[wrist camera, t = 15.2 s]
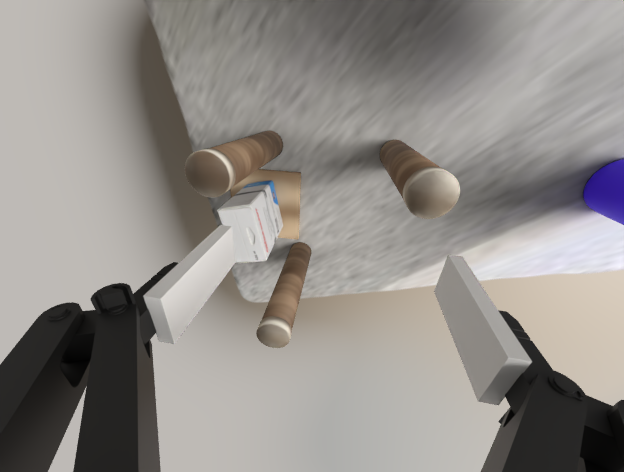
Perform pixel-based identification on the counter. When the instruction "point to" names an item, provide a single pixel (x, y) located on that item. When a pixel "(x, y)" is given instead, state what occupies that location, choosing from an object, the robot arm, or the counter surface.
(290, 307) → the corner post
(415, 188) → the gate post
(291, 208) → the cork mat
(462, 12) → the counter surface
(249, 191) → the ink box
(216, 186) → the gate post
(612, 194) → the bottle
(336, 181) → the counter surface
